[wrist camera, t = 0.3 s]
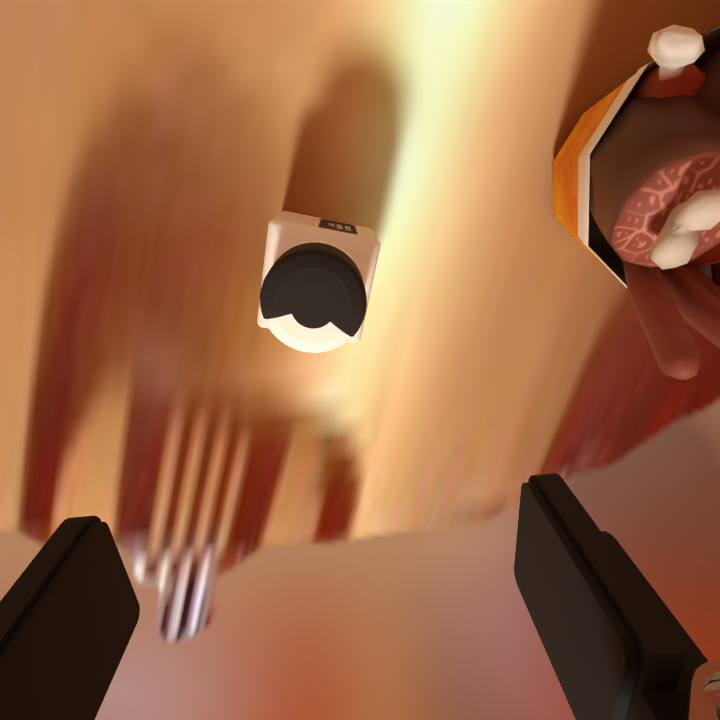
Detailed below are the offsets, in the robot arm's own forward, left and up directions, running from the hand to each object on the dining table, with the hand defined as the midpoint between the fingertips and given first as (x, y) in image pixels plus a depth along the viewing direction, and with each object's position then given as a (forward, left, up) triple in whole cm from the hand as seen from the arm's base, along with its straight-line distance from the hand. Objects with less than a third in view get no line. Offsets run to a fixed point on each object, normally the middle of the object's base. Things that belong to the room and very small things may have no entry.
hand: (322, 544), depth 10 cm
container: (0, -1, -31) cm, 31 cm away
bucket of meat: (-5, +24, -31) cm, 40 cm away
